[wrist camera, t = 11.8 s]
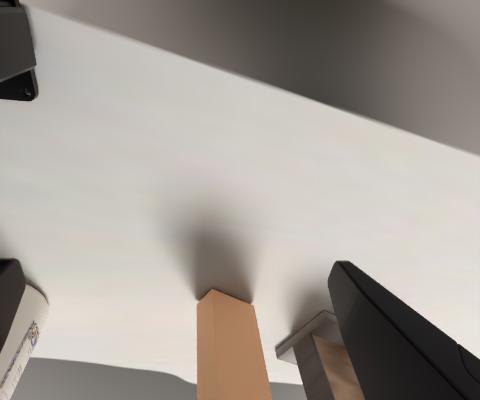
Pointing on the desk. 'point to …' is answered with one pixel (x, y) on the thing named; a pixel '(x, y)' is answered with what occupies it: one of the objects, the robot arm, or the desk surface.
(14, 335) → the bath foam
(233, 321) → the block
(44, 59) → the desk surface
